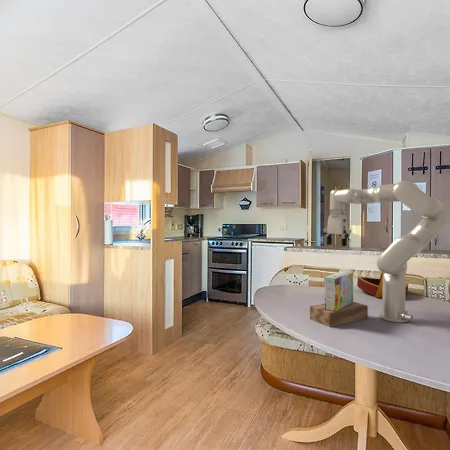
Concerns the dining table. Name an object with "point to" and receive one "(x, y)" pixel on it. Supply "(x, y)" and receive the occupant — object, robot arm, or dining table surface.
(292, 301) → the dining table surface
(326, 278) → the snack box
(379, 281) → the decorative basket
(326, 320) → the walnut riser
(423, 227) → the robot arm
